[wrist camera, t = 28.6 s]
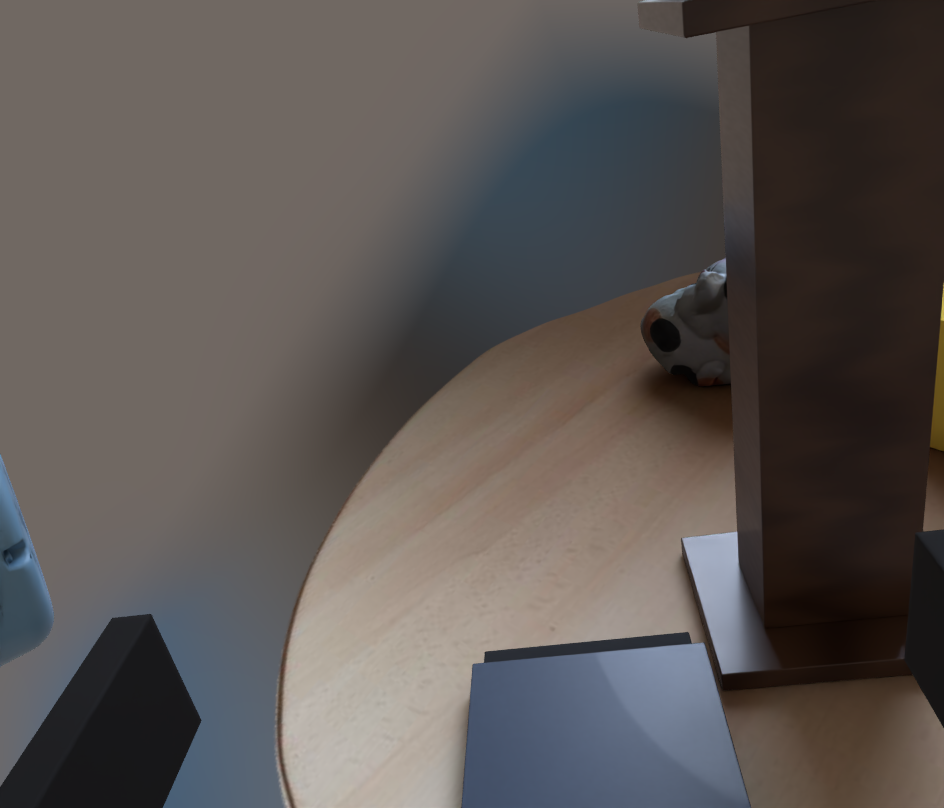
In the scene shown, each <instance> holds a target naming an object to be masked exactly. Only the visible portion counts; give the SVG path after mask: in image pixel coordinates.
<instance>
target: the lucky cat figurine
mask: <svg viewBox="0 0 944 808" xmlns="http://www.w3.org/2000/svg"><path fill="white" fill-rule="evenodd" d="M641 333H642V336H643V339H644V341H645V343H646V345H647V347H648V348H649V351H650V352H651V354H652V355H653V356H654V358H655V359H656V360H657V361H658V362H659V363H660V364H661V365H662V366H663V367H664V368H665V370H666V371H668V372H669V373H670V374H673V375H678V374H685V376H686V377H687V378H688V379H689V380H690V381H691V383H692V384H695V385H698V386H700V387H702V386H711V385H721V384H731V371H730V348H729V324H728V300H727V277H726V258H724V259H723V260H721V261H718V262H716V263H714V264H712V265H710V266H709V267H708V268H707V270H703V271H702V272H701V273H700V275H699V277H698V280H697V283H695V284H691V285H689V286H688V287H686V288H682V289H679V290H677V291H676V292H674V293H673V294H671V295H668V296H664V297H662V298H660V299H659V300H657V301H656V302H655V303H654V304H652V305H651V306H650V307H649V309H648V310H647V312H646V314H645V316H644V318H643V319H642V321H641Z"/></svg>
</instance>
